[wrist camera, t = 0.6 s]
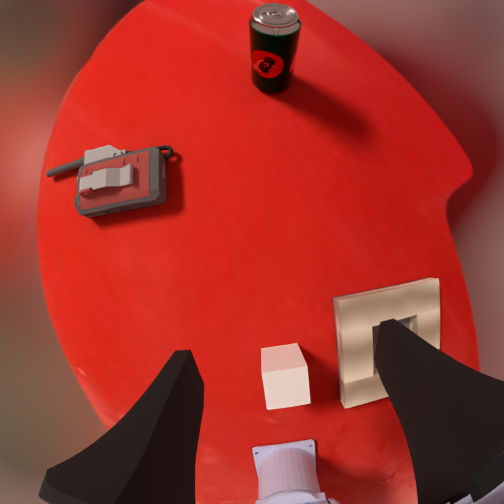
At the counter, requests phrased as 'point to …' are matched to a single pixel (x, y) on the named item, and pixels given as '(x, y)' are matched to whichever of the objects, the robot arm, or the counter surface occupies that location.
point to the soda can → (273, 46)
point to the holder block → (367, 327)
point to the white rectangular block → (284, 376)
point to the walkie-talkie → (118, 179)
